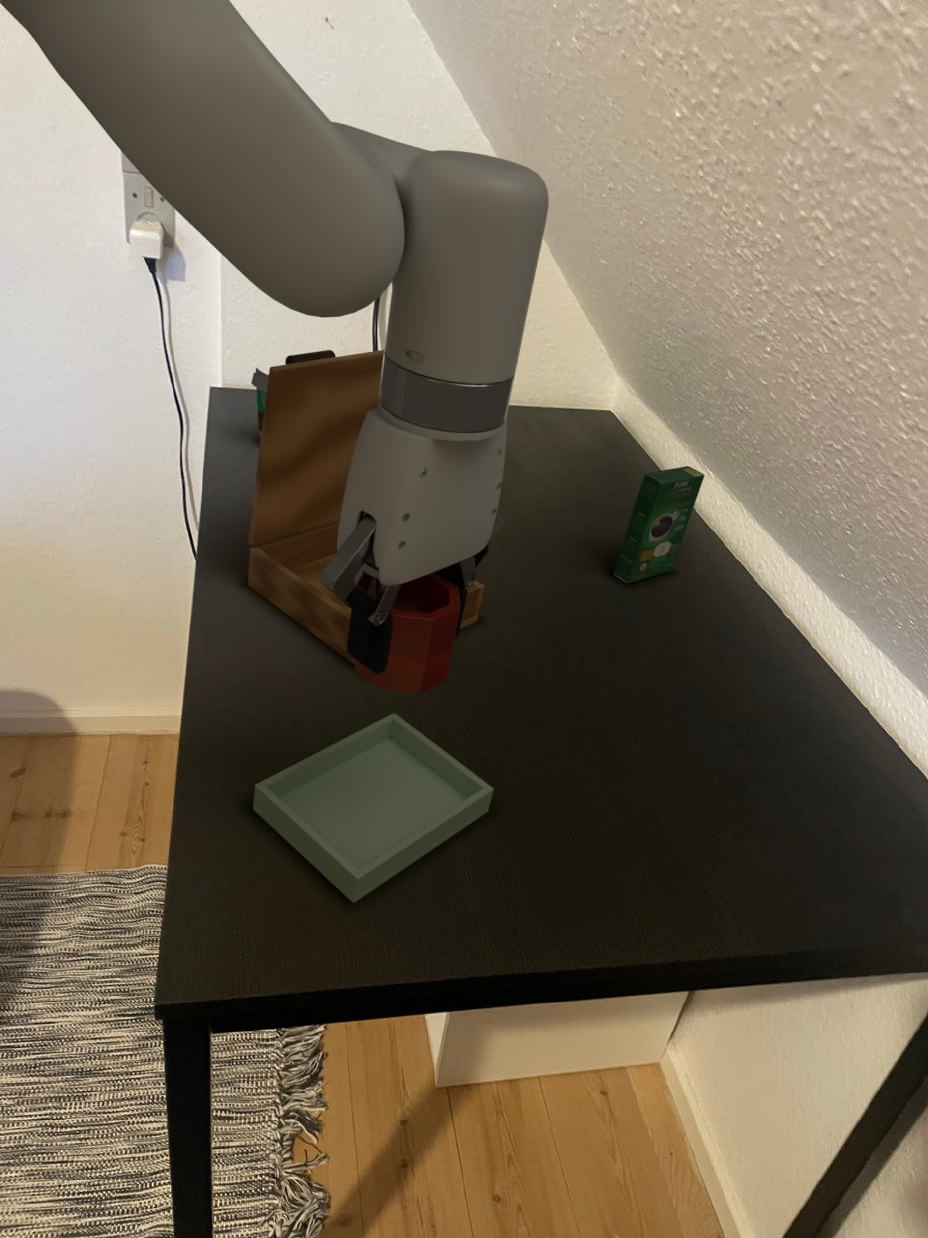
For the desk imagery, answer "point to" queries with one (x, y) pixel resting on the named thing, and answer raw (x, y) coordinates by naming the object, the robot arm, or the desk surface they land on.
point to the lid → (310, 439)
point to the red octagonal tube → (418, 635)
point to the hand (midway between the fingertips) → (403, 643)
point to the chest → (316, 584)
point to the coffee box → (658, 523)
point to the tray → (371, 804)
